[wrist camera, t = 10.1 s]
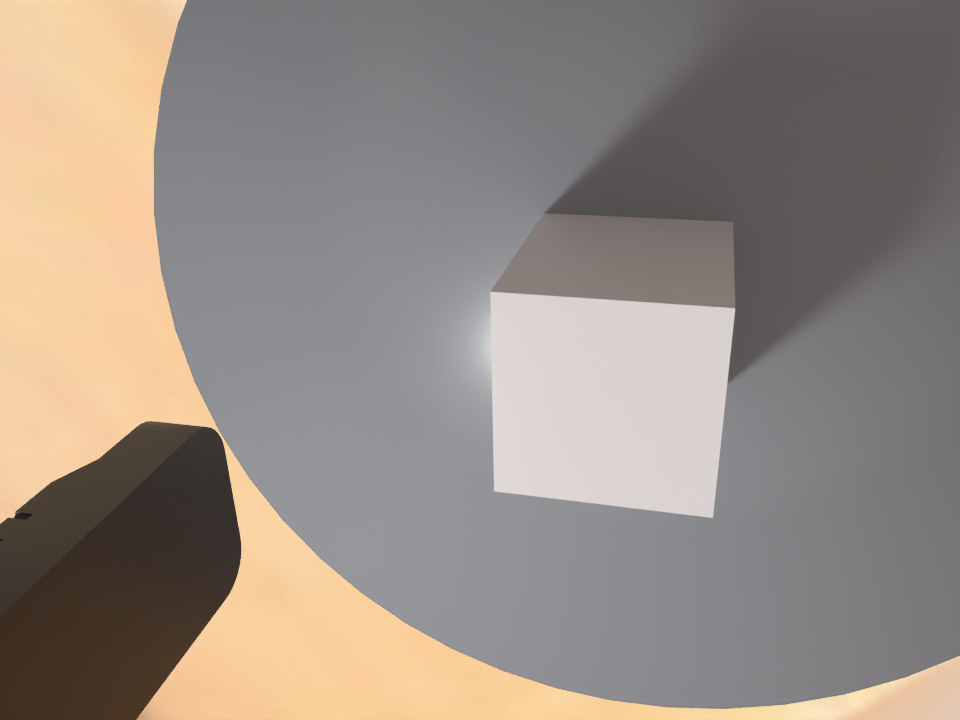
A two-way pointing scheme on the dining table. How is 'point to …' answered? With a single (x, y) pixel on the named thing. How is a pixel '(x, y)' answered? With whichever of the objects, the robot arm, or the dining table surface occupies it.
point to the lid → (590, 322)
